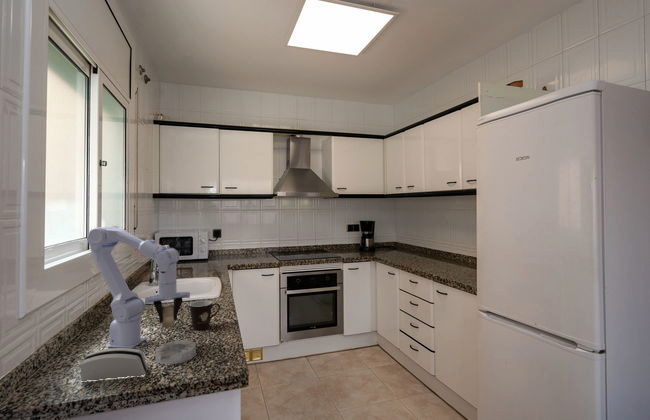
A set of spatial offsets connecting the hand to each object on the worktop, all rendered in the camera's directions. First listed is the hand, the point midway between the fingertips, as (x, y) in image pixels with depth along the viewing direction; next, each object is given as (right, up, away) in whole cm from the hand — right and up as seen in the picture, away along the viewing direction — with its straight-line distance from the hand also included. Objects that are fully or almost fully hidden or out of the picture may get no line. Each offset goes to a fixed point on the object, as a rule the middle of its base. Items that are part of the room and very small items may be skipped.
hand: (168, 320), depth 117 cm
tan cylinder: (0, -2, 0) cm, 2 cm away
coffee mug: (+7, -9, +17) cm, 21 cm away
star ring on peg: (+7, -9, -9) cm, 15 cm away
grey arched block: (-5, -9, -23) cm, 25 cm away
